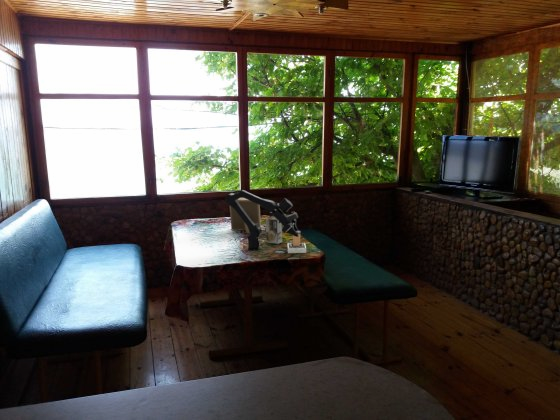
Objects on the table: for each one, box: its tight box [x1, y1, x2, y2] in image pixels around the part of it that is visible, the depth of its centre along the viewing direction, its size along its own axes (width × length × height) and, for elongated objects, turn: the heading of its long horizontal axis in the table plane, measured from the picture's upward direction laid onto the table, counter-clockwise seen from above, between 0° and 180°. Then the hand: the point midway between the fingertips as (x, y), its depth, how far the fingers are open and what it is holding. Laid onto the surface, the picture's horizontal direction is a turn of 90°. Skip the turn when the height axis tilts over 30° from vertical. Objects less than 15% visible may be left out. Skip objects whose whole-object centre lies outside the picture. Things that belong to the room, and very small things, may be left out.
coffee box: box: [265, 216, 283, 245], centre depth 278 cm, size 9×6×16 cm
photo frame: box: [229, 197, 262, 234], centre depth 310 cm, size 15×22×25 cm
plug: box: [292, 230, 301, 246], centre depth 259 cm, size 5×5×10 cm
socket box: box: [287, 242, 307, 254], centre depth 260 cm, size 11×12×4 cm
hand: (298, 235), depth 258 cm, fingers closed on plug, 5 cm apart
